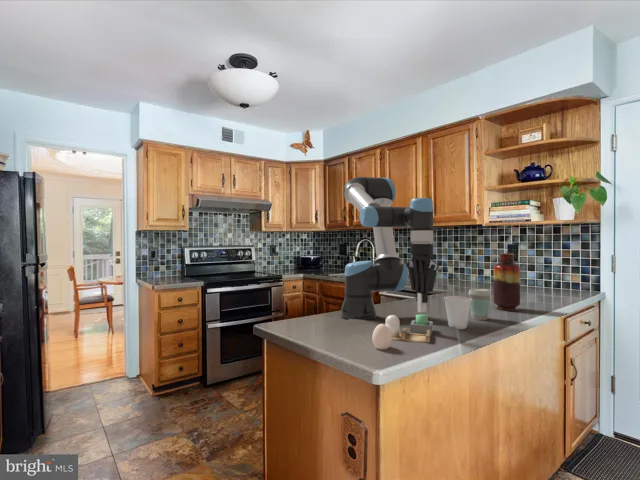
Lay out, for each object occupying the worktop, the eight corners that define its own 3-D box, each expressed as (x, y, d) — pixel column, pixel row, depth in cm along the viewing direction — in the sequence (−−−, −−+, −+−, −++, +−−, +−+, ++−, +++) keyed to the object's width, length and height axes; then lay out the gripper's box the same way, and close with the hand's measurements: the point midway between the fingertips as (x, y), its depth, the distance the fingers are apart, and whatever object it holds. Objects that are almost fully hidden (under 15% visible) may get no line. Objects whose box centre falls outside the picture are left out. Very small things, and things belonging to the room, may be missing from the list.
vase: (498, 306, 175) (498, 253, 175) (523, 309, 167) (523, 253, 167) (490, 309, 167) (490, 253, 167) (516, 312, 159) (516, 254, 159)
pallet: (377, 341, 114) (377, 331, 114) (381, 334, 122) (381, 325, 122) (429, 346, 109) (429, 336, 109) (430, 338, 117) (430, 329, 117)
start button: (415, 329, 121) (415, 316, 121) (416, 326, 125) (416, 314, 125) (427, 330, 120) (427, 317, 120) (428, 327, 123) (428, 314, 123)
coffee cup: (486, 316, 151) (486, 288, 151) (494, 321, 142) (494, 291, 142) (465, 316, 152) (465, 288, 152) (471, 320, 143) (471, 291, 143)
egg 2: (384, 337, 115) (384, 315, 115) (386, 333, 120) (386, 313, 120) (398, 338, 114) (398, 316, 114) (400, 334, 118) (400, 314, 118)
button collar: (410, 336, 120) (410, 324, 120) (412, 331, 127) (412, 319, 127) (432, 338, 118) (432, 326, 118) (432, 332, 124) (432, 321, 124)
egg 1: (372, 353, 102) (372, 325, 102) (372, 347, 107) (372, 321, 107) (391, 354, 101) (391, 326, 101) (391, 348, 107) (391, 322, 107)
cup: (471, 325, 135) (471, 296, 135) (473, 332, 126) (473, 300, 126) (443, 323, 138) (443, 295, 138) (443, 329, 129) (443, 299, 129)
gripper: (444, 243, 118) (444, 314, 118) (415, 243, 130) (415, 307, 130) (428, 243, 115) (428, 316, 115) (400, 243, 126) (400, 309, 126)
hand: (421, 311), depth 122 cm, fingers closed
